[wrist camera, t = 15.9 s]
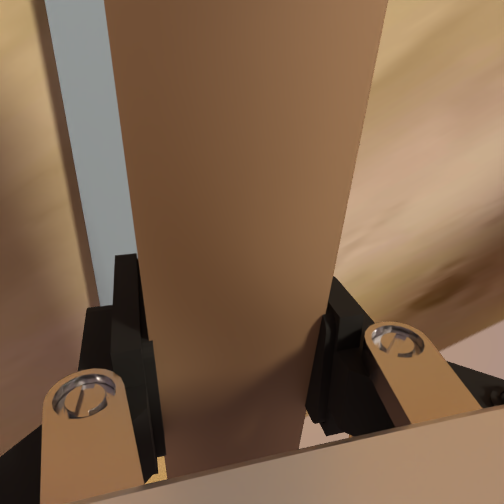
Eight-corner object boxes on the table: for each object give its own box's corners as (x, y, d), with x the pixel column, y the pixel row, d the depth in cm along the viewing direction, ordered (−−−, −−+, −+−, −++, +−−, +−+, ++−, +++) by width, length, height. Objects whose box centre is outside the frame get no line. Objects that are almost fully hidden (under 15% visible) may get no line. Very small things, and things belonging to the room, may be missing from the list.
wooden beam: (301, -322, 7) (508, -605, 3) (246, 452, 19) (275, 566, 16) (66, -371, 6) (-5, -818, 2) (169, 468, 19) (182, 592, 15)
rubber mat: (292, -147, 15) (298, -153, 15) (272, 372, 26) (275, 379, 26) (16, -175, 13) (11, -184, 13) (118, 398, 24) (118, 406, 24)
